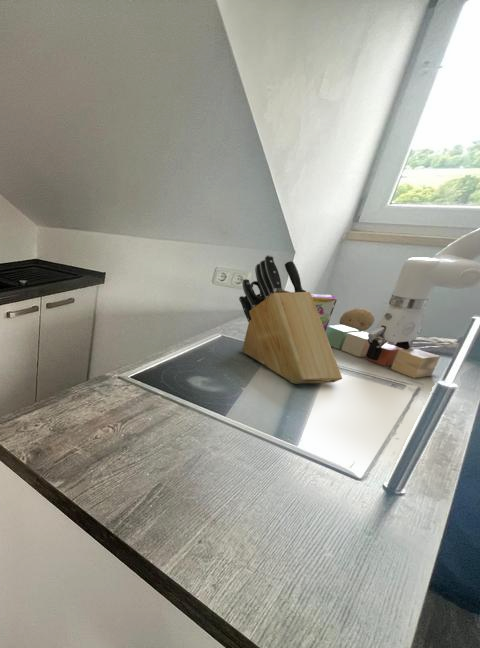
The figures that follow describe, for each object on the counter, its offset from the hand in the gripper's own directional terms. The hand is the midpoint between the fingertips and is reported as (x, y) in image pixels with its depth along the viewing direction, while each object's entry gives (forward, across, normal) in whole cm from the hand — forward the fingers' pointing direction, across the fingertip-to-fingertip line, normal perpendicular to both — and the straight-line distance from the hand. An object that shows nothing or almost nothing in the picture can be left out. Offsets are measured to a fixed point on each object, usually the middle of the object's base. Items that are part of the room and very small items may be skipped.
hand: (384, 357), depth 117 cm
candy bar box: (+2, -9, +20) cm, 22 cm away
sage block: (+1, 0, +14) cm, 15 cm away
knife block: (+2, -31, +7) cm, 32 cm away
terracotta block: (+2, 0, 0) cm, 2 cm away
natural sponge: (+2, +13, +21) cm, 25 cm away
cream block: (+2, 0, +8) cm, 8 cm away
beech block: (+2, 0, -8) cm, 8 cm away
